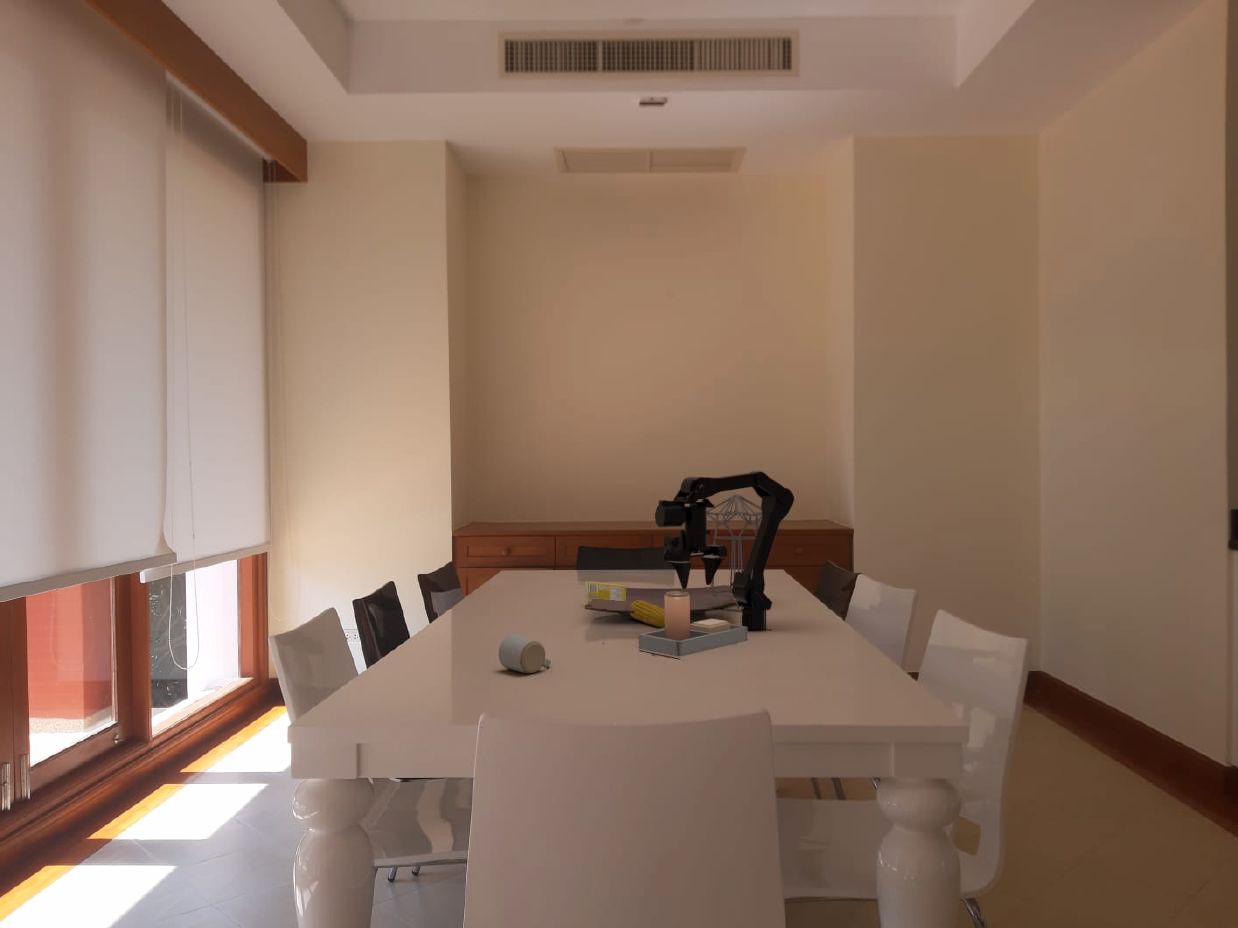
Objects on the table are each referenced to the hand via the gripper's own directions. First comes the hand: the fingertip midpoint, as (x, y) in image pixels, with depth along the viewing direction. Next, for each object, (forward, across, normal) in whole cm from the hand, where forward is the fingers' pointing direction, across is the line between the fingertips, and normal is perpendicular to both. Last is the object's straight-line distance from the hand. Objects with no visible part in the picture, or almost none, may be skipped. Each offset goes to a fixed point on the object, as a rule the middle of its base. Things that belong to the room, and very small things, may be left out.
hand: (696, 586), depth 220 cm
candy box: (+13, -13, -49) cm, 53 cm away
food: (+13, -6, -22) cm, 27 cm away
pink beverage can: (+12, +15, +7) cm, 20 cm away
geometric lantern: (+13, -43, -21) cm, 50 cm away
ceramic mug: (+13, +51, -4) cm, 53 cm away
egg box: (+12, +3, +7) cm, 14 cm away
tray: (+13, +9, +7) cm, 17 cm away
